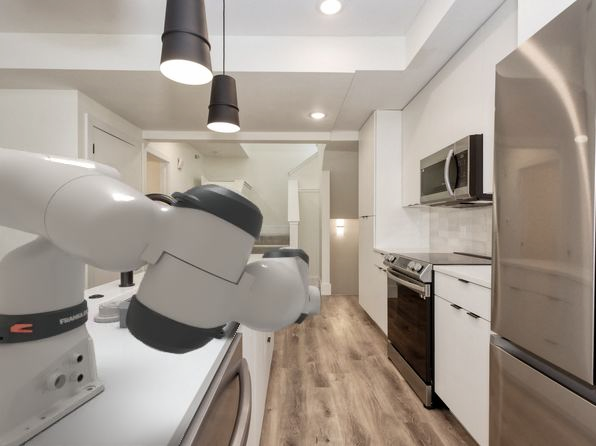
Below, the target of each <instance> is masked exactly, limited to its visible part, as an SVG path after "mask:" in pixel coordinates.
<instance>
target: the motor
mask: <svg viewBox="0 0 596 446" xmlns="http://www.w3.org/2000/svg"><path fill="white" fill-rule="evenodd" d="M131 298H132V296H130V297H129V298H127V299H125V300H122V301H123V302H120V303H119V317H120V321H119V328H120V329H124V328H125V329H126V328H127V326H126V323H125V321H126V314H127V310H128V307H129V303H130V301H131ZM127 329H128V328H127Z"/></svg>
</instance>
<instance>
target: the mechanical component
mask: <svg viewBox="0 0 596 446" xmlns="http://www.w3.org/2000/svg"><path fill="white" fill-rule="evenodd" d="M123 301H124V300H113V301H107V302H103V303H100V304H99V306H98V313H96V314H94V316H93V321H94V322H96V323H102V324H103V323H114V322H115V323H116V322H120V317H119V303H120V302H123Z"/></svg>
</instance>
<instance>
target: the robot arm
mask: <svg viewBox="0 0 596 446" xmlns="http://www.w3.org/2000/svg"><path fill="white" fill-rule="evenodd" d="M170 196H171V198H172V199H173V200H174V201H176V202H173V203H171V204H170V205H168V206H167V205H162V204H160V203H158V202H156V201H154V200H152V199H151V198H149V197H148V196H147V195H145V194H143V193H142V192H140V191H139V190H137V189H136V188H134V187H133V186H131V185H129V184H127V183H125V179H124V178H123V176H122V174H121V173H120V172H119V170H117V169H116V167H113V166H110V165H107V164H104V163H100V162H97V161H94V160H91V159H88V158H87V159H86V158H81V157H79V158H77V157H72V156H63V155H57V154H49V153H43V152H33V151H27V150H20V149H11V148H6V147H5V148H3V147H0V226H1V227H4V228H5V227H6V228H9V229H12V230H15V231H19V232H24V233H29V234H32V235H37V237H36V238H35V239H33V240H31V241H28V242H26V243H25V244H23V245H20V246H17V247H16V248H14V249H12V250H11V251H9V252H8V253H6V254H5V255H4V256H3V257H2V259H1V260H0V446H21V445H23V444H24V443H25V442H27V441H29V440H30V439H31V438H33V437H34V436H37V434H39V433H41V432H42V431H44V430H45V429H47V428H48V427H50V426H51V425H53V424H54V423H56V422H57V421H59V420H60V419H62V418H63V417H65V416H67V415H68V414H69V413H71V412H73V411H74V410H76V409H77V408H79V407H80V406H81V405H83V404H84V403H86V402H88V401H89V400H90V399H91V400H92V398H94V397H95V396H97V395H98V394H100V393H101V392H102V391H104V390H105V383H104V381H103V380H102V379H100V378H99V376H98V367H97V359H96V352H95V344H94V340H93V338H92V337H91V335H90V332H89V331H88V329H87V325H86V323H87V321H88V320H89V316H88V315H89V307H88V301H87V299H85V277H86V276H85V275H86V274H85V272H86V270H85V269H86V265H88V266H91V267H94V268H97V269H99V270H104V271H108V272H112V273H127V272H131V271H136V270H138V269H140V268H143V267H145V266H146V265H148V266H147V267H146V270H145V273H144V274H143V276H142V278H141V281H140V283H139V286H138V289H137V291H136V294H135V293H134V294H133V295H132V296H131V297H132V298H131V297H130V298H131V301H130V303H129V307H128V310H127V314H126V321H125V323H126V326H127V329H128V332H129V333H130V335H132V337H134V338H135V339H136V340H138V342H139V341H140V342H141V343H142V344H144V345H145V346H146V347H148V348H150V349H153V350H155V351H158V352H162V353H168V354H174V355H184V354H187V353H190V352H193V351H197V350H199V349H201V348H204V347H205V346H207V345H208V344H210V342H211V341H213V340H214V339H217V340H222V339H223V338H225V336H227V334H226V331H225V330H224V328H225V327H226V326H227V325H228V324H229V323H230V322H236V323H238V324H240V325H242V326H244V327H246V328H248V329H250V330H253V331H256V332H260V333H274V332H275V333H276V332H278V331H281V330H284V329H287V328H288V327H290V326H292V325H293V324H295V325H301V324H302V323H303V322H304V320H306V318H308V317H315V316H318V315H319V314H320V313H321V309H322V294H321V291H320V288H319V287H318V286H315V285H309V284H310V283H309V267H310V256H309V255H308V254H307V252H306V251H305V250H304V249H302V248H299V247H296V246H295V247H294V246H283V247H280V248H274V249H268V250H266V251H264V253H263V254H262V256H261V259H260V260H255V261H252V262H249V259H250V257H251V253H252V251H253V248H254V244H255V242H256V241H257V240H259V238H260V235H261V231H262V228H263V221H264V216H263V214H262V212H261V210H260V208H259V206H257V205H256V203H254V201H252V200H251V199H250V197H248V196H247V195H246V194H244V193H242V192H241V191H239V190H237V189H235V188H232V187H229V186H225V185H219V184H214V183H208V184H202V185H198V186H194V187H192V188H190V189H188V190H186V191H183V192H181V191H174V192H173V193H171V194H170ZM248 262H249V263H248Z"/></svg>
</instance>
